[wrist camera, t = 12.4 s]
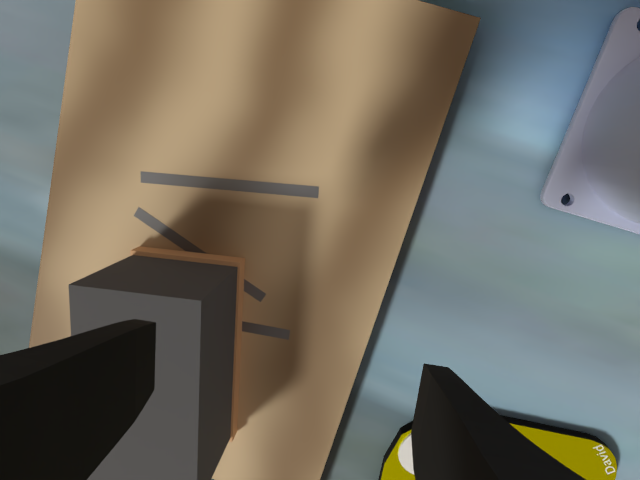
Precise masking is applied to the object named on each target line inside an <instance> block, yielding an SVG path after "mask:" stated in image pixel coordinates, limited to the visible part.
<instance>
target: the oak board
mask: <svg viewBox="0 0 640 480" xmlns="http://www.w3.org/2000/svg"><path fill="white" fill-rule="evenodd" d="M480 19H481V18H479V17H475V16H472V15H468V14H465V13H461V12H458V11H454V10H451V9H447V8H444V7H440V6H436V5H433V4H429V3H426V2H422V1H419V0H76V3H75V10H74V18H73V25H72V32H71V40H70V47H69V55H68V62H67V69H66V77H65V84H64V92H63V99H62V106H61V114H60V121H59V129H58V136H57V143H56V151H55V158H54V166H53V173H52V180H51V188H50V195H49V203H48V210H47V217H46V225H45V232H44V240H43V247H42V254H41V262H40V269H39V277H38V284H37V292H36V299H35V306H34V314H33V321H32V329H31V336H30V343H29V348H31V347H34V346H38V345H42V344H45V343H49V342H53V341H56V340H60V339H63V338H67V337H70V336H71V325H70V305H69V284H71V283H73V282H75V281H77V280H80V279H82V278H84V277H86V276H88V275H90V274H92V273H95V272H97V271H99V270H101V269H103V268H105V267H108V266H110V265H112V264H114V263H116V262H118V261H121V260H123V259H125V258H127V257H129V256H130V250H132V249H135V248H137V247H139V246H142V247H151V248H160V249H169V250H178V251H187V252H196V253H205V254H214V255H223V256H232V257H241V258H245V273H244V294H243V316H242V337H241V358H240V380H239V401H238V422H237V433H236V435H235V437H234V439H233V441H232V442H228V444H227V446H226V448H225V451H224V453H223V455H222V457H221V459H220V461H219V463H218V466H217V468H216V470H215V472H214V474H213V476H212V479H215V480H320V478H321V475H322V472H323V469H324V467H325V464H326V461H327V458H328V455H329V452H330V449H331V446H332V444H333V441H334V438H335V435H336V432H337V429H338V426H339V424H340V421H341V418H342V415H343V412H344V409H345V406H346V403H347V401H348V398H349V395H350V392H351V389H352V386H353V383H354V380H355V378H356V375H357V372H358V369H359V366H360V363H361V360H362V358H363V355H364V352H365V349H366V346H367V343H368V340H369V337H370V335H371V332H372V329H373V326H374V323H375V320H376V317H377V314H378V312H379V309H380V306H381V303H382V300H383V297H384V294H385V291H386V289H387V286H388V283H389V280H390V277H391V274H392V271H393V269H394V266H395V263H396V260H397V257H398V254H399V251H400V248H401V246H402V243H403V240H404V237H405V234H406V231H407V228H408V225H409V223H410V220H411V217H412V214H413V211H414V208H415V205H416V202H417V200H418V197H419V194H420V191H421V188H422V185H423V182H424V180H425V177H426V174H427V171H428V168H429V165H430V162H431V159H432V157H433V154H434V151H435V148H436V145H437V142H438V139H439V136H440V134H441V131H442V128H443V125H444V122H445V119H446V116H447V113H448V111H449V108H450V105H451V102H452V99H453V96H454V93H455V91H456V88H457V85H458V82H459V79H460V76H461V73H462V70H463V68H464V65H465V62H466V59H467V56H468V53H469V50H470V47H471V45H472V42H473V39H474V36H475V33H476V30H477V27H478V24H479V22H480Z"/></svg>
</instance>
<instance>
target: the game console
mask: <svg viewBox="0 0 640 480" xmlns="http://www.w3.org/2000/svg"><path fill="white" fill-rule="evenodd" d="M500 416H501V415H500ZM501 417H502V418H504V419H505V420H506V421H507V422H508V423H509V424H511V425H512V426H513V427H514V428H515V429H517V430H518V431H519V432H520V433H522V434H523V435H524V436H525V437H526V438H528V439H529V440H530V441H531V442H533V443H534V444H535V445H537V446H538V447H539V448H541V449H542V450H543V451H545V452H546V453H548V454H549V455H551V456H552V457H553V458H555V459H556V460H558V461H559V462H560V463H562V464H563V465H565V466H566V467H568V468H569V469H571V470H572V471H574V472H575V473H577V474H578V475H580V476H581V477H583V478H584V479H586V480H615V478H616V472H617V464H616V459H615V457H614V455H613V454H612V452H611V451H610V449H609V448H608V447H607V446H606V444H605V443H604V442H603V441H601V440H600V439H599V438H597V437H596V436H593V435H590V434H587V433H583V432H578V431H574V430H569V429H564V428H559V427H554V426H550V425H545V424H540V423H535V422H530V421H526V420H521V419H516V418H511V417H506V416H501ZM412 425H413V421H412V422H410V423H408V424H407V425H405V426H403V427H401V428H400V430H399V431H398V433H397V435H396V436H395V438H394V440H393V442H392V443H391V445H390V447H389V448H388V450H387V452H386V454H385V455H384V458H383V463H382V467H381V471H380V476H379V480H415V476H414V470H413V457H412V440H411V430H412Z"/></svg>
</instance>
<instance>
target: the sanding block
mask: <svg viewBox="0 0 640 480" xmlns="http://www.w3.org/2000/svg"><path fill="white" fill-rule="evenodd" d="M244 273H245V258H241V257H232V256H223V255H214V254H205V253H196V252H187V251H178V250H169V249H160V248H151V247H142V246H139V247H137V248H135V249H132V250H130V256H129V257H127V258H125V259H123V260H121V261H118V262H116V263H114V264H112V265H110V266H108V267H105V268H103V269H101V270H99V271H97V272H95V273H92V274H90V275H88V276H86V277H84V278H82V279H80V280H77V281H75V282H73V283H71V284H69V305H70V325H71V336H73V335H77V334H80V333H83V332H87V331H90V330H93V329H96V328H100V327H103V326H107V325H110V324H114V323H118V322H122V321H126V320H132V319H138V320H145V321H151V322H156V350H155V387H154V391H153V393H152V395H151V396H150V398H149V400H148V401H147V403H146V405H145V406H144V408H143V410H142V411H141V413H140V414H139V416H138V417H137V419H136V420H135V422H134V423H133V424H132V426H131V427H130V428H129V429H128V431H127V432H126V433H125V434H124V436H123V437H122V438H121V439H120V440H119V442H118V443H117V444H116V445H115V447H114V448H113V449H112V450H111V451H110V453H109V454H108V455H107V456H106V457H105V459H104V460H103V461H102V462H101V463H100V465H99V466H98V467H97V468H96V469H95V471H94V472H93V473H92V474H91V475H90V477H89V478H88V479H87V480H211V478H212V476H213V474H214V472H215V470H216V468H217V466H218V463H219V461H220V459H221V457H222V455H223V453H224V451H225V448H226V446H227V444H228V442H232V441H233V439H234V437H235V435H236V433H237V422H238V401H239V380H240V358H241V337H242V316H243V294H244Z"/></svg>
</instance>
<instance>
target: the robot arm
mask: <svg viewBox="0 0 640 480" xmlns="http://www.w3.org/2000/svg"><path fill="white" fill-rule="evenodd" d="M639 20H640V8H637V7H629V8H626V9H624V10H622V11H621V12H619V13H618V14H617V15H616V16H615V18H614V19H613V21H612V24H611V26H610V29H609V31H608V33H607V36H606V38H605V41H604V43H603V45H602V48H601V50H600V53H599V55H598V57H597V60H596V62H595V64H594V67H593V69H592V72H591V74H590V76H589V79H588V81H587V84H586V86H585V88H584V91H583V93H582V96H581V98H580V100H579V103H578V105H577V108H576V110H575V112H574V115H573V117H572V119H571V122H570V124H569V127H568V129H567V131H566V134H565V136H564V139H563V141H562V143H561V146H560V148H559V151H558V153H557V155H556V158H555V160H554V163H553V165H552V167H551V170H550V172H549V175H548V177H547V179H546V182H545V184H544V186H543V189H542V191H541V195H540V198H541V201H542V203H543V204H544V205H546V206H548V207H550V208H554V209H557V210H560V211H564V212H567V213H570V214H574V215H577V216H580V217H584V218H587V219H590V220H594V221H597V222H600V223H604V224H607V225H610V226H614V227H617V228H621V229H624V230H627V231H631V232H634V233H637V234H640V31H639V30H638V29H637V22H638V21H639ZM565 194H569V196H570V201H569V202H568V203H567V204H565V205H563V204H562V203H561V198H562V197H563V195H565ZM155 350H156V322H151V321H145V320H138V319H132V320H126V321H122V322H118V323H114V324H110V325H107V326H103V327H100V328H96V329H93V330H90V331H87V332H83V333H80V334H77V335H73V336H70V337H67V338H63V339H60V340H56V341H53V342H49V343H45V344H42V345H38V346H34V347H31V348H27V349H24V350H20V351H16V352H12V353H8V354H4V355H0V480H87V479H88V478H89V477H90V475H91V474H92V473H93V472H94V471H95V469H96V468H97V467H98V466H99V465H100V463H101V462H102V461H103V460H104V459H105V457H106V456H107V455H108V454H109V453H110V451H111V450H112V449H113V448H114V447H115V445H116V444H117V443H118V442H119V440H120V439H121V438H122V437H123V436H124V434H125V433H126V432H127V431H128V429H129V428H130V427H131V426H132V424H133V423H134V422H135V420H136V419H137V417H138V416H139V414H140V413H141V411H142V410H143V408H144V406H145V405H146V403H147V401H148V400H149V398H150V396H151V395H152V393H153V391H154V387H155ZM411 440H412V457H413V470H414V476H415V480H586V479H584V478H583V477H581V476H580V475H578V474H577V473H575V472H574V471H572V470H571V469H569V468H568V467H566V466H565V465H563V464H562V463H560V462H559V461H558V460H556V459H555V458H553V457H552V456H551V455H549V454H548V453H546V452H545V451H543V450H542V449H541V448H539V447H538V446H537V445H535V444H534V443H533V442H531V441H530V440H529V439H528V438H526V437H525V436H524V435H523V434H522V433H520V432H519V431H518V430H517V429H515V428H514V427H513V426H512V425H511V424H509V423H508V422H507V421H506V420H505V419H504V418H502V417H501V416H500V415H499V414H498V413H497V412H496V411H495V410H493V409H492V408H491V407H490V406H489V405H488V404H487V403H486V402H485V401H484V400H483V399H482V398H481V397H479V396H478V395H477V394H476V393H475V392H474V391H473V390H472V389H471V388H470V387H469V386H468V385H467V384H466V383H465V382H464V381H463V380H462V379H461V378H460V377H459V376H457V375H456V374H455V373H454V372H453V371H452V370H451V369H449V368H448V367H443V366H436V365H430V364H424V365H423V371H422V376H421V382H420V387H419V393H418V398H417V403H416V409H415V414H414V420H413V425H412V430H411Z"/></svg>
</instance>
